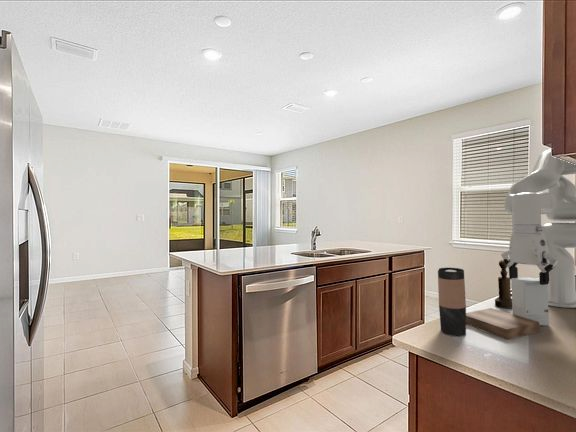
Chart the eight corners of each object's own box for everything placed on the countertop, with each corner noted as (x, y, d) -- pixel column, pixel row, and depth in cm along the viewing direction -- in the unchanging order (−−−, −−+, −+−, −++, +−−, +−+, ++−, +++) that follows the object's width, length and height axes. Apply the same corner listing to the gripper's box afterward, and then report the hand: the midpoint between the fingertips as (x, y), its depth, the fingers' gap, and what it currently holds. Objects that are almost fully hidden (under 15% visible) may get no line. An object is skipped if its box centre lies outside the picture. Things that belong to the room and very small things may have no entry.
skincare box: (525, 327, 102) (523, 281, 102) (511, 320, 108) (509, 277, 108) (550, 325, 102) (548, 279, 102) (535, 319, 108) (533, 276, 108)
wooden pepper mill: (509, 303, 126) (507, 258, 126) (519, 308, 120) (517, 261, 120) (491, 303, 127) (489, 259, 127) (501, 308, 121) (499, 261, 120)
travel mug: (472, 334, 98) (470, 270, 98) (451, 338, 96) (448, 272, 96) (454, 326, 105) (452, 266, 105) (434, 329, 104) (432, 268, 103)
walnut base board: (491, 316, 113) (491, 308, 113) (539, 331, 98) (539, 322, 98) (461, 322, 108) (461, 313, 108) (507, 339, 93) (506, 329, 93)
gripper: (564, 230, 98) (565, 285, 98) (509, 228, 114) (510, 276, 114) (547, 231, 95) (549, 288, 95) (493, 229, 112) (495, 278, 112)
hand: (528, 281), depth 105 cm, fingers open, 9 cm apart
